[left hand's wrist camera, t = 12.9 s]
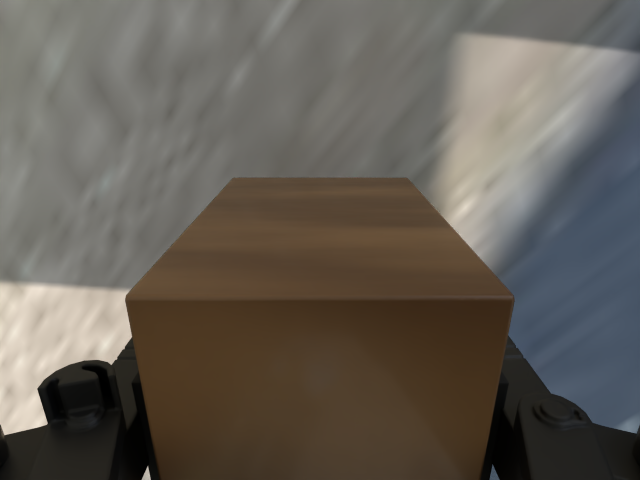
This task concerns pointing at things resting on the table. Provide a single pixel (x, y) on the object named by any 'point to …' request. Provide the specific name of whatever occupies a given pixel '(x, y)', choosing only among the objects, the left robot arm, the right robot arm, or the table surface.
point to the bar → (319, 337)
